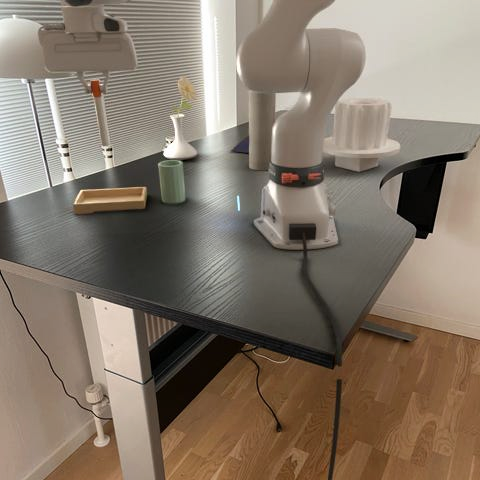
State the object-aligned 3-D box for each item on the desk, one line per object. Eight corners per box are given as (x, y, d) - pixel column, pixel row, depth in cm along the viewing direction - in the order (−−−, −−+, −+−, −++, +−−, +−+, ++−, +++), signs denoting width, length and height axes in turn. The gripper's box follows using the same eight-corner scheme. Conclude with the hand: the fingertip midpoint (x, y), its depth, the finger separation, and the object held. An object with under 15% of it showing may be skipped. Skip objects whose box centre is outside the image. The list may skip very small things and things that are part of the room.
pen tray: (145, 210, 121) (143, 200, 120) (75, 214, 119) (72, 204, 118) (147, 196, 130) (146, 186, 129) (82, 199, 129) (80, 190, 127)
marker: (109, 146, 116) (98, 80, 108) (100, 146, 116) (89, 80, 108) (110, 144, 118) (99, 79, 110) (101, 144, 118) (90, 79, 110)
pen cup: (186, 204, 124) (182, 165, 119) (162, 206, 123) (157, 167, 118) (185, 197, 129) (182, 159, 124) (162, 198, 129) (158, 160, 123)
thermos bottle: (275, 164, 156) (277, 67, 140) (272, 171, 149) (274, 70, 134) (251, 163, 157) (251, 67, 142) (247, 170, 150) (246, 70, 135)
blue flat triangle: (321, 136, 183) (321, 126, 180) (294, 165, 162) (294, 154, 160) (263, 131, 192) (263, 122, 189) (230, 158, 171) (229, 148, 169)
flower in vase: (174, 164, 157) (167, 80, 144) (158, 157, 165) (149, 77, 151) (207, 158, 163) (203, 77, 150) (190, 152, 171) (185, 74, 158)
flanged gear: (412, 166, 151) (424, 101, 141) (364, 182, 138) (373, 112, 127) (349, 152, 167) (355, 93, 157) (300, 165, 153) (304, 102, 143)
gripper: (32, 24, 99) (47, 96, 107) (131, 22, 101) (139, 93, 109) (39, 23, 105) (53, 92, 112) (133, 21, 106) (141, 89, 114)
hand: (96, 93), depth 110 cm, fingers closed on marker, 2 cm apart
